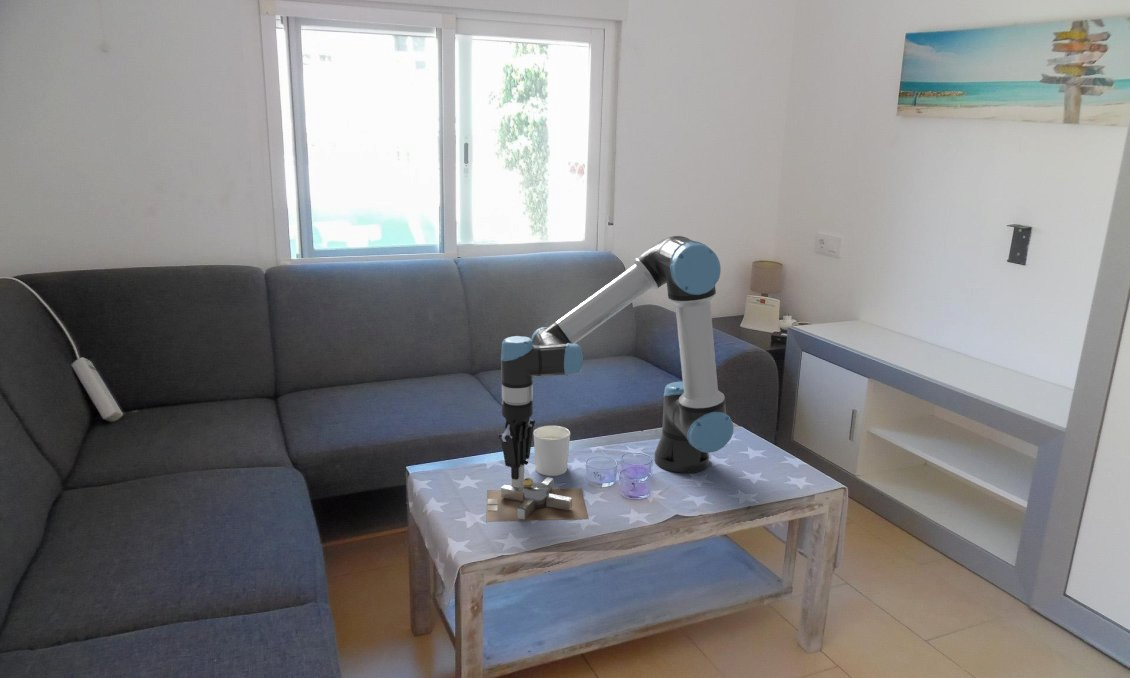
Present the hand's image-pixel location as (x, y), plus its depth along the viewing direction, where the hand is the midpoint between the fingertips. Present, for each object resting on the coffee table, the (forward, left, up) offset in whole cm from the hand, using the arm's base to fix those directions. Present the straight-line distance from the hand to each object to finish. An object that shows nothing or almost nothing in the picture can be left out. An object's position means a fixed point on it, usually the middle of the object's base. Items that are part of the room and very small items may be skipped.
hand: (517, 488), depth 195 cm
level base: (-4, +6, -3) cm, 8 cm away
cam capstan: (-4, +6, -1) cm, 8 cm away
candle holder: (-9, -14, -3) cm, 17 cm away
